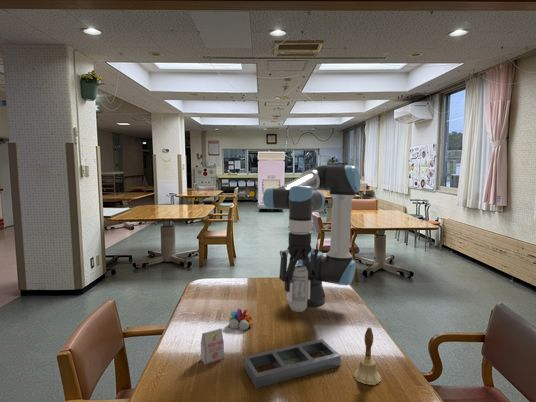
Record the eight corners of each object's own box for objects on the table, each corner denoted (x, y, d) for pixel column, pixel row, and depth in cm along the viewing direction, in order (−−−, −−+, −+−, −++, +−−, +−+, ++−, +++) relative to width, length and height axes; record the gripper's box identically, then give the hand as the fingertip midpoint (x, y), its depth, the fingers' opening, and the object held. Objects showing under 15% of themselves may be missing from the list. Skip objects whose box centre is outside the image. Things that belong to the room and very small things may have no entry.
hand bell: (349, 369, 110) (351, 322, 108) (375, 368, 111) (377, 321, 109) (358, 386, 102) (360, 336, 100) (385, 385, 103) (388, 335, 101)
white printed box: (200, 359, 116) (200, 331, 115) (219, 353, 119) (219, 326, 118) (204, 364, 113) (204, 335, 112) (223, 358, 116) (223, 330, 115)
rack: (321, 348, 123) (321, 338, 123) (340, 365, 112) (340, 355, 112) (243, 366, 112) (243, 356, 111) (256, 388, 101) (256, 377, 101)
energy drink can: (308, 306, 119) (309, 264, 117) (304, 313, 113) (305, 269, 112) (291, 304, 121) (292, 262, 119) (287, 310, 115) (288, 267, 114)
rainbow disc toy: (249, 332, 134) (249, 314, 133) (226, 329, 136) (226, 312, 135) (255, 322, 143) (255, 305, 142) (232, 320, 144) (232, 303, 144)
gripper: (318, 228, 121) (316, 292, 124) (269, 231, 114) (268, 298, 117) (330, 232, 115) (328, 299, 117) (278, 235, 107) (277, 307, 110)
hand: (298, 299), depth 117 cm, fingers closed on energy drink can, 6 cm apart
